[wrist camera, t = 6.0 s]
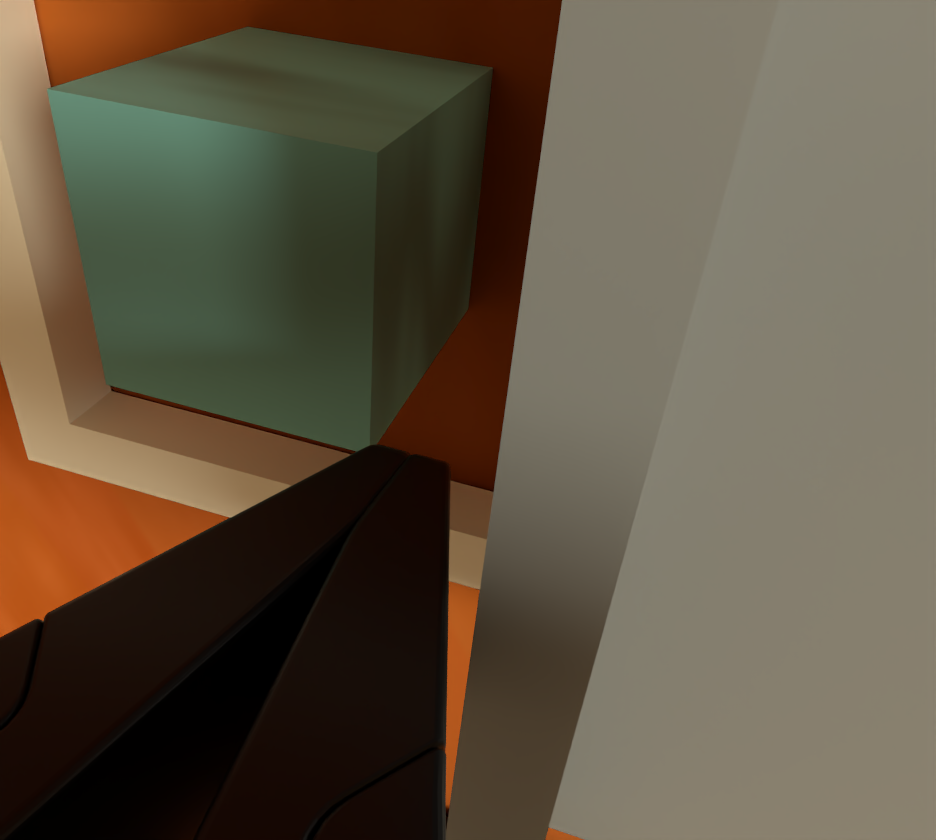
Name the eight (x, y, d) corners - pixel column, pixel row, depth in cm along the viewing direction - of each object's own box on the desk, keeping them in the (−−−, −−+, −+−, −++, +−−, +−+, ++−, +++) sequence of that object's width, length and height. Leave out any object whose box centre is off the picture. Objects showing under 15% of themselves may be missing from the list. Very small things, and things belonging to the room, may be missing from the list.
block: (469, 307, 16) (369, 454, 12) (263, 260, 17) (105, 384, 13) (494, 66, 13) (376, 152, 9) (249, 26, 14) (46, 88, 10)
